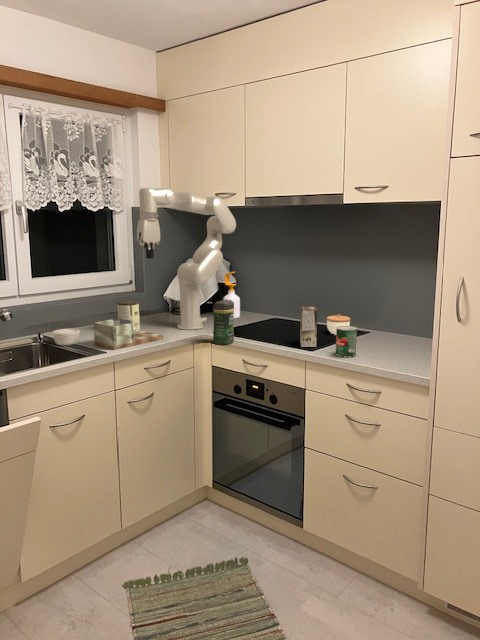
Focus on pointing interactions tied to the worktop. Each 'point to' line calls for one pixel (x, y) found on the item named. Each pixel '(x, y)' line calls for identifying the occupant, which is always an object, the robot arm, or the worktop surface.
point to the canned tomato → (346, 340)
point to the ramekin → (66, 336)
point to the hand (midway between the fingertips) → (150, 258)
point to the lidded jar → (337, 322)
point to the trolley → (127, 321)
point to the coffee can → (129, 312)
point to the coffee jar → (223, 322)
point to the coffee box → (308, 326)
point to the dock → (120, 335)
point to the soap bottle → (232, 296)
